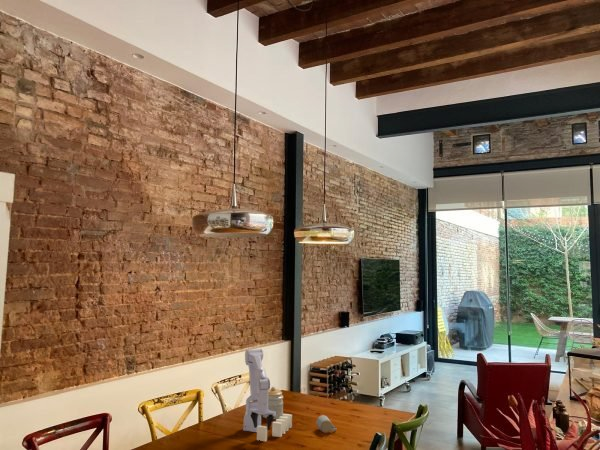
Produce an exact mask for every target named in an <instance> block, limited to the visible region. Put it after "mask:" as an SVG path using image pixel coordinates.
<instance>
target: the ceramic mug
mask: <svg viewBox="0 0 600 450" xmlns="http://www.w3.org/2000/svg"><path fill="white" fill-rule="evenodd" d="M316 426H317V428H318V429H319V431H321V432H322V433H324V434H328V433H330V432H331V431H333V432H336V431H337V427H336V426H335V425H333V423H332V421H331V420H330V419H329V417H328V416H327V415H324V414H321V415H319V416H318V418H317V419H316Z"/></svg>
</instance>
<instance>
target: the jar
mask: <svg viewBox="0 0 600 450" xmlns="http://www.w3.org/2000/svg"><path fill="white" fill-rule="evenodd" d="M283 399H284V395H283V391H281V390H280V389H276V387H275V386H271V387H270V389H269V390H268V410H271V411H275V412H276V415H275V416H274V418H273V420H276V419H279V417H280V416H283V414H284V401H283ZM261 416H262V417H263V418H265V419H267V416H269V415H263V414H261Z"/></svg>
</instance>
